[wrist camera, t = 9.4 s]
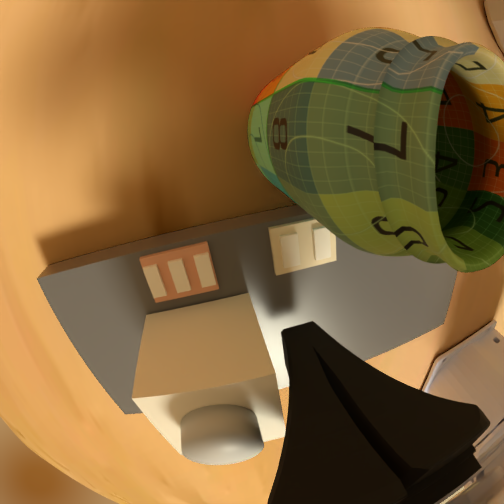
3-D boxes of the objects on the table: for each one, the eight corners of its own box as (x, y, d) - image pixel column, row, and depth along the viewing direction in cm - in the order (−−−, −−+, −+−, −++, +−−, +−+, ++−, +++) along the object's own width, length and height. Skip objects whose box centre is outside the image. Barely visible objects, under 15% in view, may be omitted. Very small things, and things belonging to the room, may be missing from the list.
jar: (268, 54, 8) (420, -63, 1) (370, 110, 10) (555, 129, 2) (219, 166, 10) (289, 276, 2) (328, 209, 11) (484, 328, 4)
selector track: (452, 179, 12) (473, 186, 10) (433, 313, 15) (446, 326, 14) (48, 265, 10) (33, 283, 8) (127, 398, 13) (124, 419, 12)
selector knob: (248, 292, 10) (285, 402, 6) (263, 363, 12) (293, 457, 8) (146, 314, 10) (128, 427, 5) (179, 380, 12) (182, 477, 7)
